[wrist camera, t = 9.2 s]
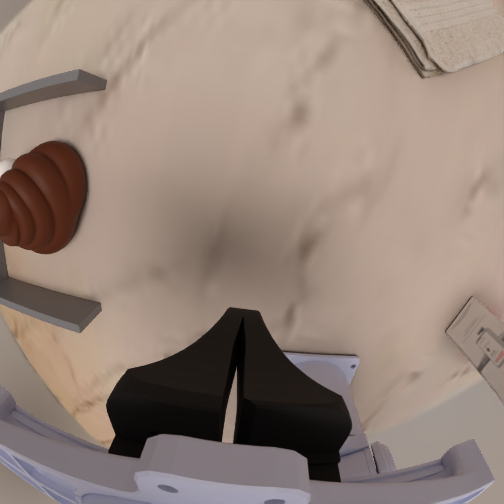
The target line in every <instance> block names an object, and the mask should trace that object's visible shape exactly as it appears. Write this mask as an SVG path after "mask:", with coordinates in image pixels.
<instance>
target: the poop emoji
mask: <svg viewBox="0 0 504 504" xmlns="http://www.w3.org/2000/svg"><path fill="white" fill-rule="evenodd" d="M85 189H86V179H85V172H84V168H83V165H82V162H81V160H80V158H79V156H78V155H77V153H76V152H75V151H74V150H73V149H72V148H71V147H70V146H68V145H67V144H65V143H62V142H58V141H49V142H45V143H43V144H40V145H39V146H37V147H35V148H34V149H33V150H32V151H30V152H29V153H27V154H24V155H21V156H20V157H18V158H17V159H16V160H15V159H12V158H8V159H5V160H3V161H1V162H0V239H1V240H2V241H3V242H4V243H5V244H7V245H9V246H19V247H21V248H23V249H27V250H32V251H34V252H36V253H40V254H52V253H55V252H57V251H59V250H61V249H62V248H64V247H65V246H66V245H67V244H68V242H69V241H70V240H71V238H72V236H73V234H74V232H75V229H76V224H77V218H78V216H79V213H80V211H81V208H82V205H83V201H84V197H85Z"/></svg>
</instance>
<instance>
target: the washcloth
mask: <svg viewBox="0 0 504 504" xmlns="http://www.w3.org/2000/svg"><path fill="white" fill-rule="evenodd" d="M364 1H365V2H366V3H367V5H368V6H369V7H370V8H371V9H372V11H373V12H374V13H375V14H376V15H377V16H378V17H379V19H380V20H381V21H382V22H383V23H384V24H385V25H386V26H387V27H388V29H389V30H390V31H391V33H392V34H393V36H394V37H395V39H396V40H397V41H398V43H399V45H400V46H401V47H402V49H403V50H404V51H405V53H406V54H407V56H408V58H409V59H410V60H411V62H412V63H413V65H414V66H415V68H416V69H417V71H418V72H419V73H420V75H421V76H422V77H424V78H427V77H433V76H435V75H439V74H441V73H442V72H449V73H453V72H456V71H458V70H460V69H463V68H466V67H469V66H471V65H474V64H479V63H482V62H484V61H486V60H488V59H490V58H492V57H494V56H496V55H499V54H502V53H503V52H504V17H503V16H502V15H501V14H500V13H499V12H498V10H497V9H496V8H495V6H494V5H493V4H492V3H491V1H490V0H364Z"/></svg>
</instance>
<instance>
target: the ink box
mask: <svg viewBox="0 0 504 504" xmlns="http://www.w3.org/2000/svg"><path fill="white" fill-rule="evenodd" d="M446 334H447V336H448V337H449V338H450V339H451V340H452V341H453V342H454V344H455V345H456V346H457V347H458V348H459V349H460V350H461V352H462V353H463V354H464V355H465V356H466V357H467V359H468V360H469V361H470V362H471V363H472V364H473V366H474V367H475V368H476V369H477V371H478V372H479V373H480V374H481V376H482V377H483V378H484V379H485V381H486V382H487V383H488V385H489V386H490V387H491V389H492V390H493V391H494V392H495V394H496V395H497V396H498V398H499V399H500V401H501V402H502V403H503V405H504V322H503V321H501V320H500V319H499V318H498V317H497V316H496V315H494V314H493V313H492V312H491V311H490V310H489V309H487V308H486V307H485V306H484V305H482V304H481V303H480V302H479V301H478V300H476V299H475V298H474V297H471V299H470V300H469V301H468V303H467V304H466V306H465V307H464V308H463V310H462V311H461V312H460V314H459V315H458V316H457V318H456V319H455V320H454V322H453V323H452V324H451V326H450V327H449V328H448V329H447V331H446Z"/></svg>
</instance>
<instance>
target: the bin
mask: <svg viewBox="0 0 504 504" xmlns="http://www.w3.org/2000/svg"><path fill="white" fill-rule="evenodd" d="M106 82H107V81H106V80H104V79H102V78H100V77H97V76H95V75H92V74H90V73H88V72H85V71H83V70H80V69H78V70H74V71H69V72H65V73H61V74H57V75H53V76H50V77H46V78H43V79H39V80H36V81H33V82H30V83H27V84H24V85H21V86H18V87H15V88H12V89H10V90H7V91H4V92H2V93H0V147H1V136H2V126H3V118H4V111H6V110H9V109H13V108H16V107H20V106H23V105H27V104H31V103H35V102H39V101H43V100H47V99H52V98H57V97H62V96H67V95H72V94H78V93H85V92H91V91H99V90H105V87H106ZM0 304H2V305H5V306H7V307H9V308H12V309H14V310H16V311H19V312H21V313H24V314H26V315H29V316H32V317H34V318H37V319H40V320H42V321H45V322H48V323H51V324H53V325H56V326H59V327H62V328H65V329H68V330H71V331H74V332H78V333H81V332H82V331H83V330H84V329H85V328H86V327H87V326H88V324H89V323H90V322H91V321H92V320H93V319H94V318H95V317H96V316H97V315H98V314H99V313H100V312H101V303H97V302H93V301H89V300H85V299H81V298H77V297H73V296H70V295H66V294H62V293H58V292H55V291H51V290H48V289H44V288H41V287H37V286H34V285H31V284H27V283H24V282H21V281H18V280H15V279H12V278H9V277H8V273H7V267H6V261H5V254H4V247H3V241H2V240H1V239H0Z"/></svg>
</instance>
